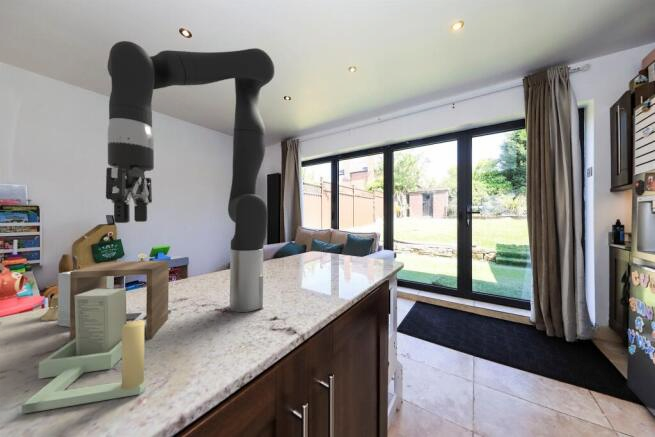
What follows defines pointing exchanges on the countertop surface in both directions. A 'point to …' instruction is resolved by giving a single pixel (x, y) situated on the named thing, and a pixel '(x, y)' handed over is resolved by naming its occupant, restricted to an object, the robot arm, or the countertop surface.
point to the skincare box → (99, 320)
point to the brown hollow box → (98, 275)
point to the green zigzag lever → (73, 367)
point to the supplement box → (65, 297)
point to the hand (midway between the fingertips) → (132, 222)
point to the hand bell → (52, 313)
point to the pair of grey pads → (136, 315)
